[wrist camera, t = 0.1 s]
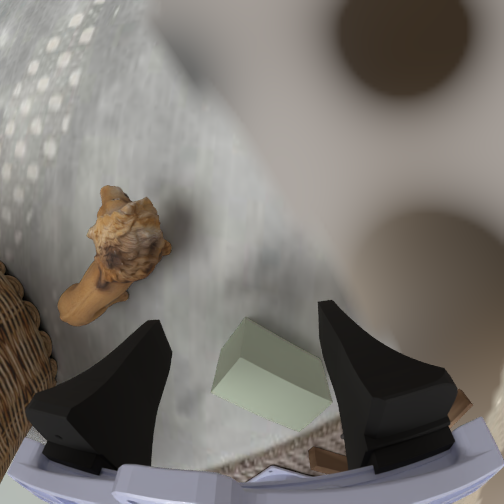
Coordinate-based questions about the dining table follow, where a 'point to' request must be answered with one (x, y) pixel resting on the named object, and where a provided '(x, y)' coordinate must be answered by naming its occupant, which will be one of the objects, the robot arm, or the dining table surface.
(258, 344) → the sage block
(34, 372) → the wicker basket
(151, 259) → the lion figurine
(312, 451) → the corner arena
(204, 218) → the dining table surface
